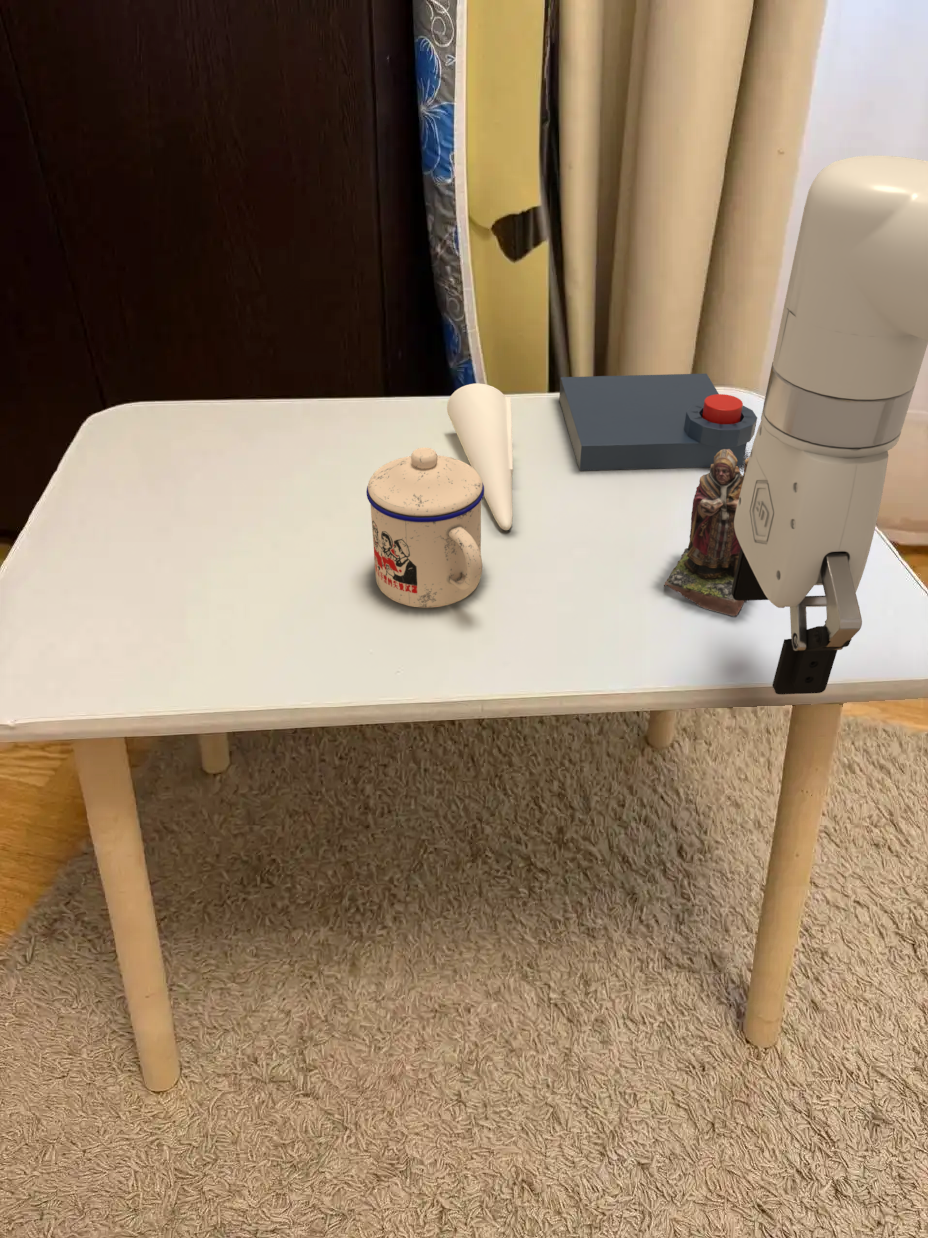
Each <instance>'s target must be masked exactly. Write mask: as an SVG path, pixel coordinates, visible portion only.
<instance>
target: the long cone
mask: <svg viewBox="0 0 928 1238" xmlns="http://www.w3.org/2000/svg"><path fill="white" fill-rule="evenodd" d="M446 412H447V415H448V417H449V421H450V422H451V424H452V427H453V429H454V432H455V433H456V435H457V437H458V440H459V442H460V444H461V446H462V449H463V452H464V454H465V455H466V458H467V460H468V462H469V465H470V466H471V467H472V468H473V469H475V470H476V472H477V473H478V474H479V476H480V477H481V480H482V482H483V485H484V495H483V497H484V498H485V501H486V503H487V505H488V507H489V509H490V512H491V514H492V516H493V518H494V520H495V522H496V523H497V526H499V528H500V529H501V530H503V531H508V530H510V529H511V527H512V525H513V517H514V515H513V513H514V511H513V481H512V480H513V479H512V478H513V473H514V453H513V450H514V449H513V417H512V416H513V415H512V414H513V413H512V396H507V395H505V394H504V393H503V392H502V391H501V390H500V389H498V388H496V387H495V386H492V385H489V384H486V383H478V382H477V383H469V384H466V385H463V386H461V387H459V388H457V389H456V390H454V392H453V393H452V394H451V395H450V397H449V398H448V401H447V404H446Z"/></svg>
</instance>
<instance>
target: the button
mask: <svg viewBox="0 0 928 1238" xmlns="http://www.w3.org/2000/svg"><path fill="white" fill-rule="evenodd" d="M743 406H744V403H743V401H742V399H740V398H739V397H737V396H734V395H731V394H725V393H724V394H723V393H719V394H716V395H711V396H708V397H707V398H706V399H705V401H704V407H703V414H702V418H703V419H705V420H707V421H709V422H712V423H717V424H735V423H738V422H740V418H741V412H742V407H743Z"/></svg>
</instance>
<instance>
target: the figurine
mask: <svg viewBox="0 0 928 1238" xmlns="http://www.w3.org/2000/svg"><path fill="white" fill-rule="evenodd" d="M748 461H749V457H747V458H746V459H744V464H743V474H742V473H741V470H740V468H739V466H736V465H737V458H736V457H735V455H734V454H733V452H732V451H731V450H730V449H728V450H726V449H723V450H720V451H719V452H718V453H717V454H716V456H714V464H711V466H710V467H709V472H708V473H706V474H703V475H701V476H700V477H699V482H698V486H696V490H695V494H694V497H693V500H692V509H691V515H690V516H691V517H690V530H689V531H690V533H689V542H688V546H687V547H686V548H684V550H683V553H682V554H680V555H681V556H680V559H679V560H678V561H677V564H676V566H675V567H674V568H673V569H672V571H671V572H670V574H669V577H668V578H667V579H666V581H664V584H663V587H664V588H666V586H668V588H670V589H671V590H673V591H674V592H676V593H679V594H680V595H681V596H683V597H684V598H685V599H687V600H689V601H690V602H693V603H695V605H697V606H699V607H700V608H702V609H705V610H710V611H712V612H717V613H721V614H725V615H728V616H731V617H737V616H738V614H739V612H740V611H741V609H742V608H743V606H744V604H745V601H747V600H744V601H738V600H735V599H734V598H733V596H732V594H731V591H732V586H733V581H734V576H735V572H736V567H737V562H738V557H739V553H740V549H742V548H741V546H740V543H739V541H738V539H737V536H736V533H735V528H734V518H735V513H736V508H737V504H738V500H739V496H740V492H741V488H742V484H743V480H744V476H745V472H746V468H747V464H748Z"/></svg>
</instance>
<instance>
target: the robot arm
mask: <svg viewBox="0 0 928 1238" xmlns="http://www.w3.org/2000/svg"><path fill="white" fill-rule="evenodd" d="M802 212H803V213H802V217H801V222H800V227H799V231H798V236H797V240H796V241H797V242H796V246H795V251H794V256H793V261H792V265H791V269H790V274H789V275H790V276H789V279H788V285H787V289H786V294H785V299H784V305H783V309H782V314H781V320H780V324H779V329H778V335H777V339H776V344H775V348H774V354H773V360H772V363H771V367H770V372H769V378H768V382H767V387H766V393H765V397H764V401H763V406H762V411H761V415H760V423H759V425H758V427H757V429H756V430H757V431H756V432H755V433H756V434H755V437H754V440H753V444H752V447H751V449H750V453H749V457H748V458H749V461H748V464H747V468H746V472H745V476H744V480H743V484H742V488H741V492H740V496H739V500H738V504H737V508H736V513H735V518H734V528H735V533H736V536H737V539H738V541H739V543H740V546H741V548H742V549H740V553H739V557H738V562H737V567H736V572H735V576H734V581H733V586H732V591H731V594H732V596H733V598H734V599H735V600H738V601H744V600H746V601H769V602H770V603H771V604H772V605H774V607H776V608H778V609H779V608H780V609H784V608H789V616H790V617H789V619H790V638H786V639H785V638H784V639H783V643H782V647H781V650H780V655H779V657H778V662H777V665H776V669H775V673H774V678H773V682H772V686H771V687H772V689H773V691H774V693H775V694H776V695H800V694H801V695H805V694H821V693H824V691H825V690H826V688H827V686H828V682H829V679H830V676H831V673H832V670H833V666H834V663H835V660H836V657H837V652H838V651H841V650H843V649H844V648H846V647H848V646H849V645H850V644H851V641H852V639H853V638H854V636H855V635H857V634H858V632H859V631H860V630H861V628H862V625H863V618H862V614H861V609H860V605H859V601H858V596H857V591H858V589H859V587H860V584H861V580H862V577H863V574H864V572H865V569H866V565H867V562H868V558H869V555H870V552H871V546H872V543H873V538H874V535H875V531H876V526H877V521H878V517H879V513H880V507H881V502H882V498H883V493H884V486H885V482H886V475H887V470H888V469H887V467H888V461H889V451H890V450H891V449H893V448H894V447H895V446H896V445H897V444H898V442H899V440H900V437H901V434H902V430H903V427H904V424H905V421H906V417H907V414H908V410H909V407H910V404H911V401H912V398H913V394H914V390H915V388H916V384H917V381H918V378H919V374H920V371H921V368H922V364H923V361H924V358H925V354H926V351H927V348H928V160H924V159H919V158H913V157H905V156H904V157H903V156H896V155H895V156H894V155H858V156H852V157H847V158H842V159H838V160H835V161H833V162H831V163H830V164H829V165H826V166H825V167H823V168H822V169H821V170H820V171H819V172H818V174H817V175H816V176H815V177H814V178H813V181H812V183H811V184H810V186H809V189H808V192H807V195H806V199H805V203H804V207H803V211H802ZM814 586H822V587H823V592H824V595H808V594H809V593H810V592H811V590H812V589H813V588H814ZM744 602H745V601H744ZM823 607H825V608H826V619H825V621H824V624H823V625H818V626H817V625H816V626H814V627H811V628H808V622H807V621H808V620H807V619H808V618H807V608H823Z"/></svg>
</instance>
